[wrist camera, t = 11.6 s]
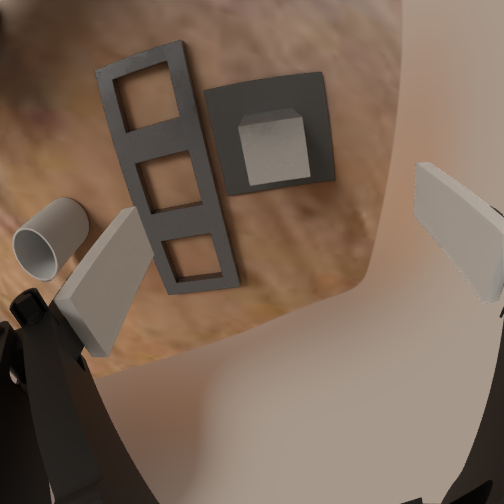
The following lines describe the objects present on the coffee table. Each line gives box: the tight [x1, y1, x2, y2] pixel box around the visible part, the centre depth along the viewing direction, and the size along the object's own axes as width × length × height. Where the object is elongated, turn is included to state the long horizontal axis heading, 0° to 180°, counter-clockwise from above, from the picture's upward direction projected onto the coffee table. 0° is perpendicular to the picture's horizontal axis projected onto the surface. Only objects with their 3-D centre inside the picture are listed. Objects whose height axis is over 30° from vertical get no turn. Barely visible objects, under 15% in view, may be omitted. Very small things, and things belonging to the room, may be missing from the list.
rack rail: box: [95, 40, 241, 295], centre depth 33 cm, size 30×10×1 cm, turn 11°
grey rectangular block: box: [238, 108, 310, 186], centre depth 27 cm, size 5×5×8 cm
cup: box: [13, 197, 89, 282], centre depth 34 cm, size 7×10×9 cm
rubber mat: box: [204, 72, 335, 196], centre depth 31 cm, size 12×12×1 cm
